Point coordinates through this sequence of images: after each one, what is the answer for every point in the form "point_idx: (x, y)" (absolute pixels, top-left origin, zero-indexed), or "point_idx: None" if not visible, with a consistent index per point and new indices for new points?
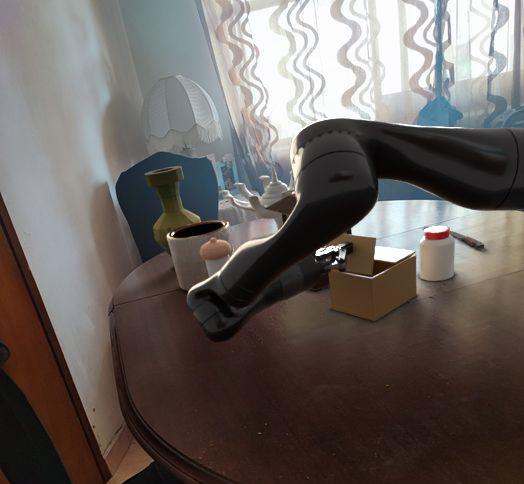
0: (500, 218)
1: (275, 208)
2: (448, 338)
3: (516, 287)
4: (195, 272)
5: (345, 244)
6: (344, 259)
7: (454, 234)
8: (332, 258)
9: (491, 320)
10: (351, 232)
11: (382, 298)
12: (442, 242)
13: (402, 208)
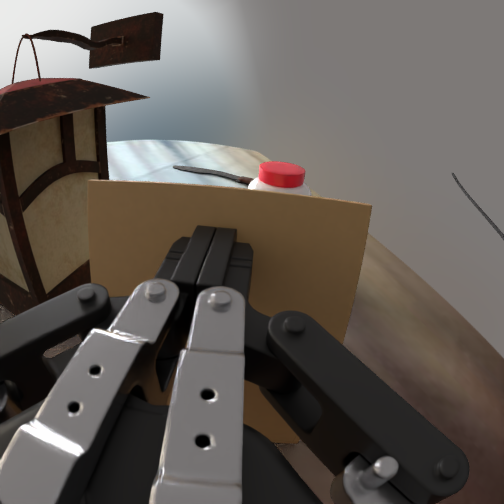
0: (247, 156)
1: None
2: (465, 417)
3: (396, 259)
4: None
5: (223, 249)
6: (461, 458)
7: (222, 174)
8: (281, 454)
9: (455, 340)
10: (108, 177)
11: None
12: (303, 192)
13: (126, 147)
